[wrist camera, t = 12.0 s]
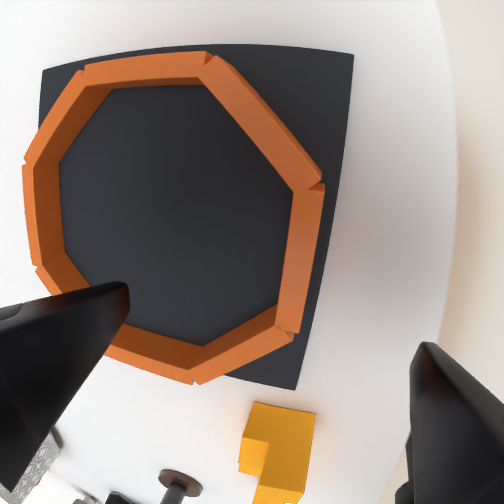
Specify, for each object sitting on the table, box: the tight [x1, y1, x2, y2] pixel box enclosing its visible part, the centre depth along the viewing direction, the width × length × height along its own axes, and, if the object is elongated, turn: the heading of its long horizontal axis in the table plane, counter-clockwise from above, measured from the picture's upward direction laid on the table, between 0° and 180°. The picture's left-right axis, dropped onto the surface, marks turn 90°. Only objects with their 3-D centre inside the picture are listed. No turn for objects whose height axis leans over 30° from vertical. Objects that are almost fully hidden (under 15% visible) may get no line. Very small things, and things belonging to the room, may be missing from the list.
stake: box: [158, 470, 202, 504], centre depth 26 cm, size 5×5×5 cm
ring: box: [22, 51, 325, 385], centre depth 16 cm, size 17×17×2 cm
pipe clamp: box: [238, 402, 315, 504], centre depth 19 cm, size 12×4×6 cm, turn 174°
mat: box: [38, 44, 354, 391], centre depth 17 cm, size 19×19×1 cm
